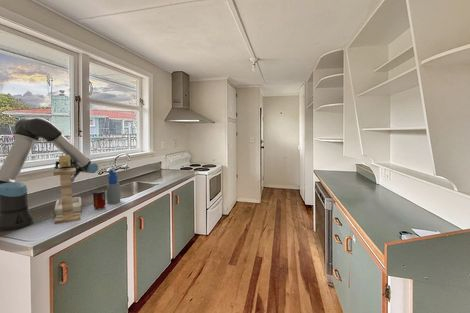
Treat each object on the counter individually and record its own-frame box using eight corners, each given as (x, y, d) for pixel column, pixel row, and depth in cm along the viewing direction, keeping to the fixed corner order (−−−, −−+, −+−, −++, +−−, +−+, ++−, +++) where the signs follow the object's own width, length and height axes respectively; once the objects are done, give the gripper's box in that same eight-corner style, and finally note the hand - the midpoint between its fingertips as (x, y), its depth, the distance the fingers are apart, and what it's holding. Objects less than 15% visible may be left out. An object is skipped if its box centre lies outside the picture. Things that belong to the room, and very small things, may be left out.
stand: (56, 217, 138) (53, 169, 136) (80, 213, 145) (77, 167, 142) (54, 224, 127) (51, 172, 124) (80, 220, 134) (77, 170, 131)
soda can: (107, 205, 161) (106, 189, 160) (103, 209, 154) (102, 191, 153) (96, 206, 159) (95, 189, 158) (92, 209, 152) (91, 192, 151)
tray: (57, 205, 161) (57, 199, 161) (81, 202, 169) (80, 196, 169) (54, 216, 140) (54, 209, 140) (81, 211, 148) (81, 205, 148)
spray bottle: (122, 201, 171) (121, 169, 169) (111, 204, 164) (109, 170, 161) (116, 199, 176) (114, 168, 173) (104, 202, 168) (102, 169, 166)
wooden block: (61, 163, 145) (60, 154, 144) (70, 163, 148) (70, 154, 147) (59, 166, 130) (59, 156, 130) (70, 166, 133) (69, 156, 133)
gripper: (81, 176, 160) (81, 162, 142) (52, 178, 150) (48, 164, 133) (80, 166, 162) (80, 152, 145) (52, 168, 153) (48, 152, 135)
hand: (65, 158), depth 139 cm, fingers closed on wooden block, 3 cm apart
